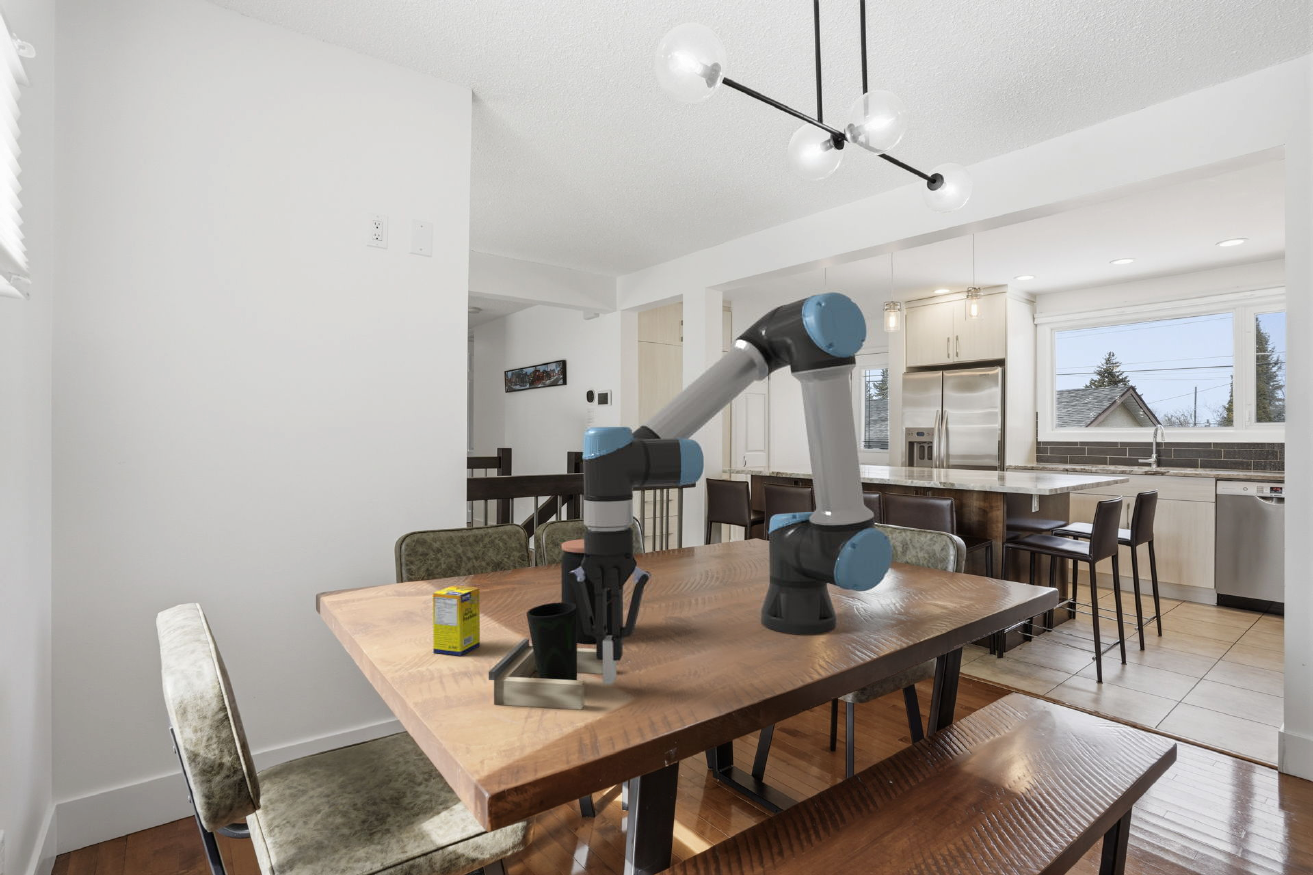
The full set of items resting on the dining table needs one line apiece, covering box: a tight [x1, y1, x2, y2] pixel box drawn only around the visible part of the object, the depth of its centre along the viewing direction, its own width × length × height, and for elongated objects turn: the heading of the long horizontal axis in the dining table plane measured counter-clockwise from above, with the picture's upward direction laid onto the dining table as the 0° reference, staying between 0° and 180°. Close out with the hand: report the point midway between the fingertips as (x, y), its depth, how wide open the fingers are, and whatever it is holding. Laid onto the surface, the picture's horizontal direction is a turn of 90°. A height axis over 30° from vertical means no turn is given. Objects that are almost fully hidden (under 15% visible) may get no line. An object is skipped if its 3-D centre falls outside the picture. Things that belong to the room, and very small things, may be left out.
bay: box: [488, 638, 603, 710], centre depth 97 cm, size 14×15×5 cm
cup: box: [526, 601, 578, 680], centre depth 96 cm, size 8×8×12 cm
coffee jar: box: [560, 538, 612, 644], centre depth 122 cm, size 11×11×18 cm
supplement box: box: [432, 585, 481, 657], centre depth 114 cm, size 6×6×11 cm
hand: (609, 680), depth 96 cm, fingers closed
